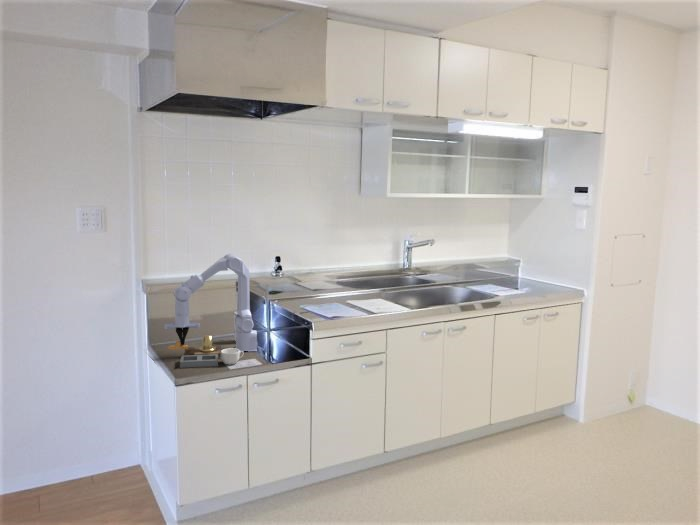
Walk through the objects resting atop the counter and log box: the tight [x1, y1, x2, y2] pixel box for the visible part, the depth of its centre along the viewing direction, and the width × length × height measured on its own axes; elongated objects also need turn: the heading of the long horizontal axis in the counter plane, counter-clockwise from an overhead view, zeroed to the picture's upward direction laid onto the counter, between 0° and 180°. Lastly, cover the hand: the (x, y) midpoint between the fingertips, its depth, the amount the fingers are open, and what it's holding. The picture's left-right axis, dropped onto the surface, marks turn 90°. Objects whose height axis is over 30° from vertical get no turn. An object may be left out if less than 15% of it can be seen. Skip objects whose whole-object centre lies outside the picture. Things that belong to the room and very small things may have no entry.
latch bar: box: [167, 340, 189, 350], centre depth 249 cm, size 8×2×3 cm, turn 102°
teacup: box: [220, 347, 245, 365], centre depth 243 cm, size 10×8×5 cm
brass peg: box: [199, 333, 216, 352], centre depth 252 cm, size 7×7×9 cm
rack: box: [179, 354, 219, 369], centre depth 241 cm, size 15×8×2 cm, turn 102°
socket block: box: [184, 345, 222, 360], centre depth 252 cm, size 15×11×4 cm
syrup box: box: [233, 311, 237, 342], centre depth 274 cm, size 6×6×14 cm
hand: (182, 344), depth 250 cm, fingers closed
